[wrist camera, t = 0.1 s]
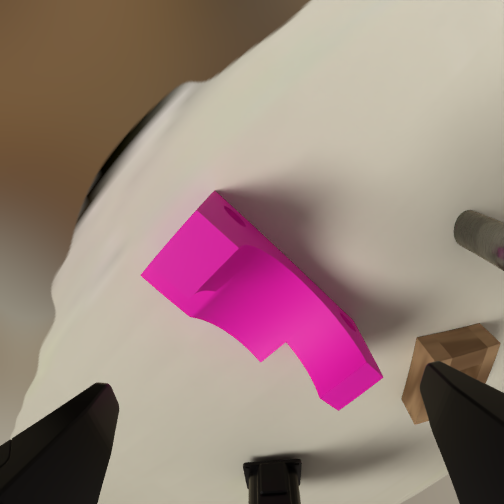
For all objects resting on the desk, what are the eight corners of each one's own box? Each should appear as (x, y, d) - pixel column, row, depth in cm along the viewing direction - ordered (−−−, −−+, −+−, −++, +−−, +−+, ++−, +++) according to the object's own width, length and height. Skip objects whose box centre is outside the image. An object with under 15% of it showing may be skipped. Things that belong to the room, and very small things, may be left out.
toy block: (159, 252, 23) (123, 296, 16) (215, 190, 22) (196, 209, 14) (297, 365, 26) (309, 429, 19) (353, 319, 25) (383, 377, 18)
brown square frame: (460, 382, 27) (476, 404, 24) (401, 398, 28) (414, 424, 24) (479, 323, 25) (500, 343, 21) (416, 337, 25) (435, 362, 21)
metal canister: (478, 245, 22) (554, 290, 13) (452, 247, 23) (530, 297, 13) (481, 209, 22) (564, 243, 12) (455, 210, 22) (540, 247, 12)
